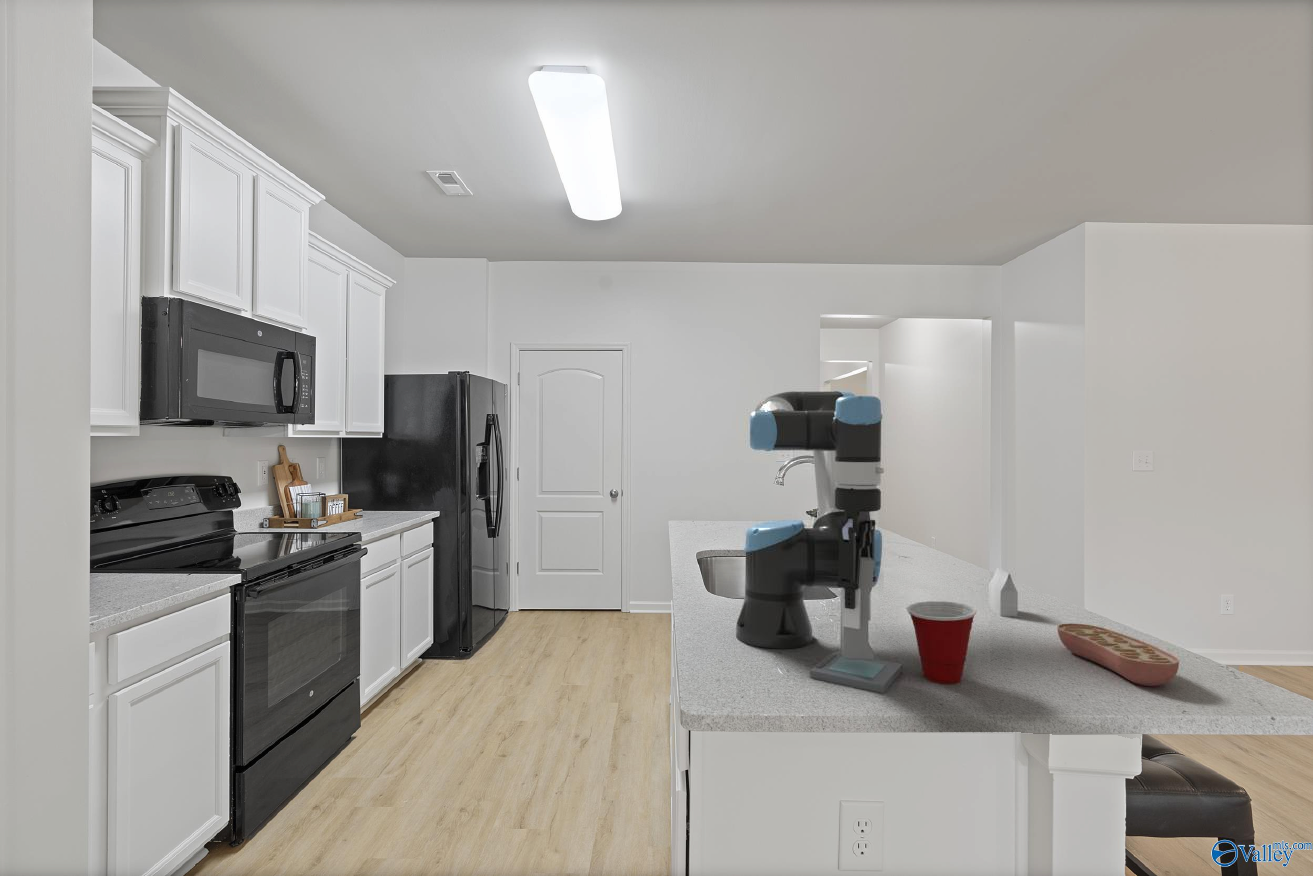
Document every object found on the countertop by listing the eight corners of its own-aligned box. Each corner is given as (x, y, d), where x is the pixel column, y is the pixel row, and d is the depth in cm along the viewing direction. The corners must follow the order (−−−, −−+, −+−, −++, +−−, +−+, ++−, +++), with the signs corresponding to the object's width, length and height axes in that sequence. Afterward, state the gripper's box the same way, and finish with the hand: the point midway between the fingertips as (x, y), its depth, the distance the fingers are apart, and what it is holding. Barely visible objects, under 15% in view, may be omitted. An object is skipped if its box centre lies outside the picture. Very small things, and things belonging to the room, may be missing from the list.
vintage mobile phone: (874, 661, 109) (875, 511, 109) (843, 659, 109) (844, 511, 109) (870, 653, 112) (870, 509, 112) (840, 652, 113) (841, 508, 113)
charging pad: (810, 677, 109) (810, 669, 109) (833, 658, 119) (833, 650, 119) (883, 693, 102) (883, 685, 102) (902, 671, 112) (902, 663, 112)
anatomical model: (1046, 649, 125) (1046, 623, 126) (1096, 649, 126) (1097, 623, 126) (1137, 695, 103) (1137, 663, 103) (1199, 695, 103) (1199, 663, 103)
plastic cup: (897, 666, 115) (897, 598, 115) (959, 667, 114) (959, 599, 114) (919, 690, 104) (919, 614, 104) (988, 691, 103) (988, 615, 103)
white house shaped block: (1000, 617, 147) (1000, 573, 147) (988, 610, 154) (988, 567, 154) (1017, 618, 147) (1017, 574, 147) (1005, 610, 153) (1005, 568, 153)
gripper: (864, 491, 101) (863, 640, 101) (894, 484, 116) (893, 614, 116) (817, 488, 105) (816, 632, 105) (852, 483, 120) (851, 608, 120)
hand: (856, 622), depth 111 cm, fingers closed on vintage mobile phone, 5 cm apart
